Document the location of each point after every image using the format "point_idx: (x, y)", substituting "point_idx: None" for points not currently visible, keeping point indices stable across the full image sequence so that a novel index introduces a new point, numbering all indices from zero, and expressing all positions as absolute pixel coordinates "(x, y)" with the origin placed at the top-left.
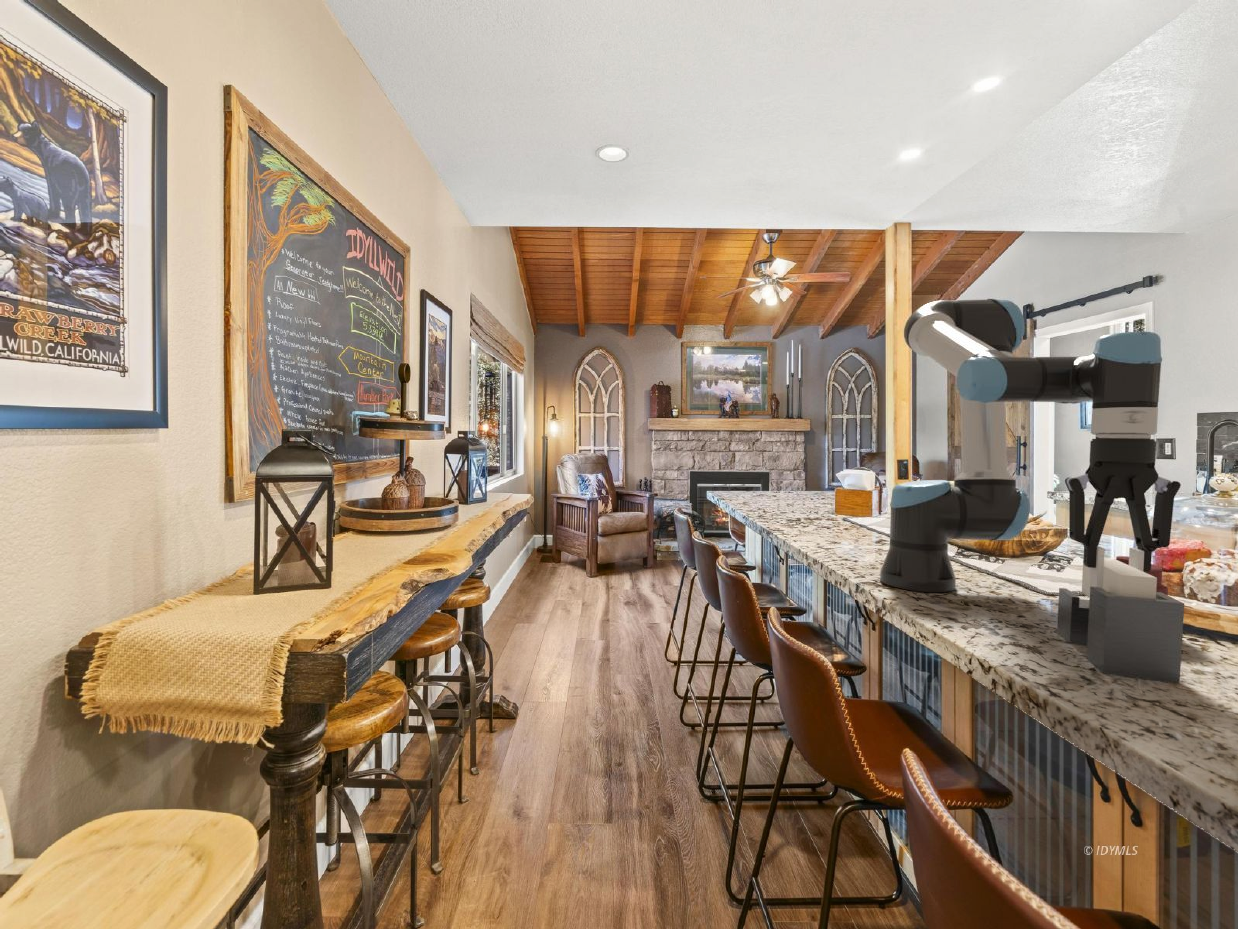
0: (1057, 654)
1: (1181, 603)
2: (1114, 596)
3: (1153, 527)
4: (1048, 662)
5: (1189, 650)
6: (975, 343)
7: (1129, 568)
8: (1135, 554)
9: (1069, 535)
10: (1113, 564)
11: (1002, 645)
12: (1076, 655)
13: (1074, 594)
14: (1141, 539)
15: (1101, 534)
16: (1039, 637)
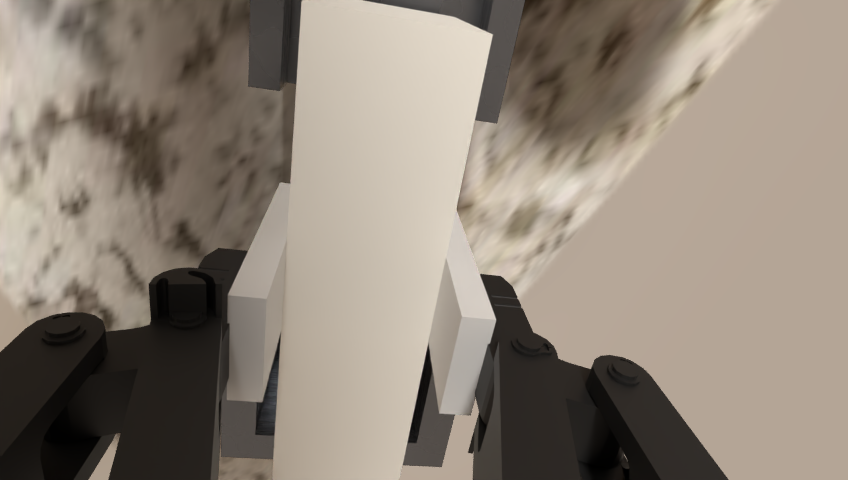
0: (205, 180)
1: (434, 465)
2: (248, 449)
3: (639, 471)
4: (160, 253)
5: (650, 28)
6: None
7: (395, 340)
8: (441, 370)
9: (22, 336)
10: (367, 257)
11: (50, 138)
12: (259, 174)
13: (279, 29)
14: (475, 462)
15: (217, 475)
16: (198, 5)
